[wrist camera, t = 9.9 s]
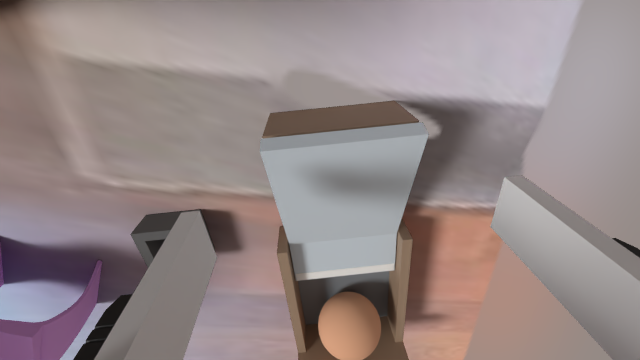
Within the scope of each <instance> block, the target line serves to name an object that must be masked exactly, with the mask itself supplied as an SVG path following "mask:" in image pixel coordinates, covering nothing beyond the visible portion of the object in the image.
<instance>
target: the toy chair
mask: <svg viewBox="0 0 640 360" xmlns="http://www.w3.org/2000/svg"><path fill="white" fill-rule="evenodd" d="M101 267H102V261H100V260H98V261H97V264H96V266H95V269H94V272H93V274H92V277H91V279H90V281H89V283H88V285H87V288H86V289H85V291H84V293H83V294H82V296H81V297H80V298H79V299H78V300H77V302H75V303H74V304H73V305H72V306H71V307H70V308H68V309H67V310H65V311H64V312H62V313H60V314H59V315H57V316H55V317H53V318H52V319H50V320H47V321H43V322H36V323H31V322H21V321H12V320H1V319H0V360H59V359H60V358H61V357H62V356H63V354H64V353H65V352H66V350H67V349H68V348H69V346H70V345H71V343H72V342H73V341H74V339H75V338H76V336H77V335H78V333H79V332H80V330H81V329H82V327H83V326H84V324H85V322H86V321H87V319H88V317H89V316H90V314H91V312H92V311H93V309H94V307H95V305H96V303H97V297H98V289H99V282H100V274H101ZM3 284H4V280H3V268H2V256H1V244H0V287H1V286H2V285H3Z"/></svg>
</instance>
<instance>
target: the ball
mask: <svg viewBox="0 0 640 360" xmlns="http://www.w3.org/2000/svg"><path fill="white" fill-rule="evenodd" d="M318 330H319V335H320V338H321V341H322V343H323V345H324V347H325V348H326V349H327V351H328V352H329V353H330V354H332V355H333V356H334V357H336V358H337V359H340V360H363V359H365V358H366V357H368V356H369V355H370V354H371V353H372V352H373V351H374V350H375V348H376V347H377V345H378V342H379V340H380V336H381V321H380V317H379V314H378V312H377V310H376V308H375V307H374V305H373V304H372V303H371V302H370V300H368V299H367V298H366V297H364V296H363V295H361V294H359V293H356V292H341V293H338V294H336V295H334V296H332V297H331V298H330V299H329V300H328V301H327V302H326V303H325V304H324V306H323V308H322V310H321V312H320V315H319V321H318Z"/></svg>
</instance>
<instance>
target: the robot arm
mask: <svg viewBox="0 0 640 360" xmlns="http://www.w3.org/2000/svg"><path fill="white" fill-rule="evenodd" d="M491 228H492V229H493V230H494V231H495V232H496V233H497V234H498V236H499V237H500V238H501V239H502V240H503V241H504V242H505V243H506V244H507V245H508V246H509V247H510V248H511V250H512V251H513V252H514V253H515V254H516V255H517V256H518V257H519V258H520V259H521V260H522V261H523V263H524V264H525V265H526V266H527V267H528V268H529V269H530V270H531V271H532V272H533V274H534V275H535V276H536V277H537V278H538V279H539V280H540V281H541V282H542V283H543V284H544V285H545V286H546V288H547V289H548V290H549V291H550V292H551V293H552V294H553V295H554V296H555V297H556V298H557V299H558V301H559V302H560V303H561V304H562V305H563V306H564V307H565V308H566V309H567V310H568V311H569V313H570V314H571V315H572V316H573V317H574V318H575V319H576V320H577V321H578V322H579V323H580V324H581V326H582V327H583V328H584V329H585V330H586V331H587V332H588V333H589V334H590V335H591V336H592V338H593V339H594V340H595V341H596V342H597V343H598V344H599V345H600V346H601V347H602V348H603V349H604V351H606V353H607V354H608V355H609V356H610V357H611V358H612V359H613V360H640V250H639V249H638V248H636V247H634V246H631V245H629V244H627V243H625V242H623V241H621V240H618V239H616V238H610V237H609V236H608V235H606V234H605V233H603V232H602V231H601V230H599V229H598V228H596V227H595V226H593V225H592V224H590V223H589V222H588V221H586V220H585V219H583V218H582V217H581V216H579V215H578V214H576V213H575V212H574V211H572V210H571V209H569V208H568V207H566V206H565V205H564V204H562V203H561V202H559V201H558V200H556V199H555V198H554V197H552V196H551V195H549V194H548V193H546V192H545V191H544V190H542V189H541V188H539V187H538V186H537V185H535V184H534V183H532V182H531V181H529V180H528V179H527V178H525V177H524V176H522V175H520V176H511V177H504V181H503V184H502V188H501V192H500V195H499V199H498V202H497V206H496V209H495V213H494V216H493V220H492V223H491ZM216 259H217V256H216V254H215V251H214V248H213V246H212V243H211V240H210V238H209V235H208V232H207V230H206V227H205V224H204V221H203V219H202V216H201V213H200V211H192V212H182V213H181V214H180V216H179V217H178V219H177V221H176V222H175V224H174V226H173V227H172V229H171V231H170V232H169V234H168V236H167V238H166V239H165V241H164V243H163V244H162V246H161V248H160V249H159V251H158V253H157V254H156V256H155V258H154V259H153V261H152V263H151V264H150V266H149V268H148V270H147V271H146V273H145V275H144V276H143V278H142V280H141V281H140V283H139V285H138V286H137V288H136V290H135V291H134V293H133V294H130V295H121V296H120V297H119V298H118V299H117V300H116V301H115V302H114V303H113V304H112V305H111V306H109V307H108V308H107V309H106V310H105V312H104V313H103V315H102V316H101V318H100V320H99V321H98V323H97V324H96V326H95V329H94V330H92V332H91V333H90V335H89V336H88V338H87V339H86V343H85V344H83V346H82V347H81V349H80V350H79V352H78V353H77V355H76V356H75V358H74V359H73V360H183V358H184V355H185V352H186V349H187V346H188V343H189V340H190V337H191V334H192V331H193V328H194V325H195V322H196V319H197V316H198V313H199V310H200V307H201V304H202V301H203V298H204V295H205V292H206V289H207V286H208V283H209V280H210V277H211V274H212V271H213V268H214V265H215V262H216Z"/></svg>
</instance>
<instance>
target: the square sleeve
mask: <svg viewBox="0 0 640 360" xmlns="http://www.w3.org/2000/svg"><path fill="white" fill-rule="evenodd" d="M192 211H200V213H201V216H202V219H203V221H204V224H205V227H206V230H207V232H208V229H207V226H206V223H205V220H204V218H203V215H202V212H201V209H199V210H189V211H180V212H170V213H161V214H151V215H146V216H145V217H144V218H143V219H142V221H141V222H140V223H139V224H138V226H137V227H136V228H135V229H134V231H133V232H132V233H131V236H132V238H133V240H134V242H135V244H136V246H137V248H138V250H139V251H140V253H141V255H142V257H143V259H144V261H145V263H146V265H147V266H148V268H149V266H150V264H151V263H152V261H153V259H154V258H155V256H156V254H157V253H158V251H159V249H160V248H161V246H162V244H163V243H164V241H165V239H166V238H167V236H168V234H169V232H170V231H171V229H172V227H173V226H174V224H175V222H176V221H177V219H178V217H179V216H180V214H181V213H182V212H192ZM208 235H209V238H210V240H211V237H210V234H209V232H208ZM211 243H212V240H211ZM212 246H213V243H212ZM213 248H214V246H213ZM214 251H215V248H214Z"/></svg>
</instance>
